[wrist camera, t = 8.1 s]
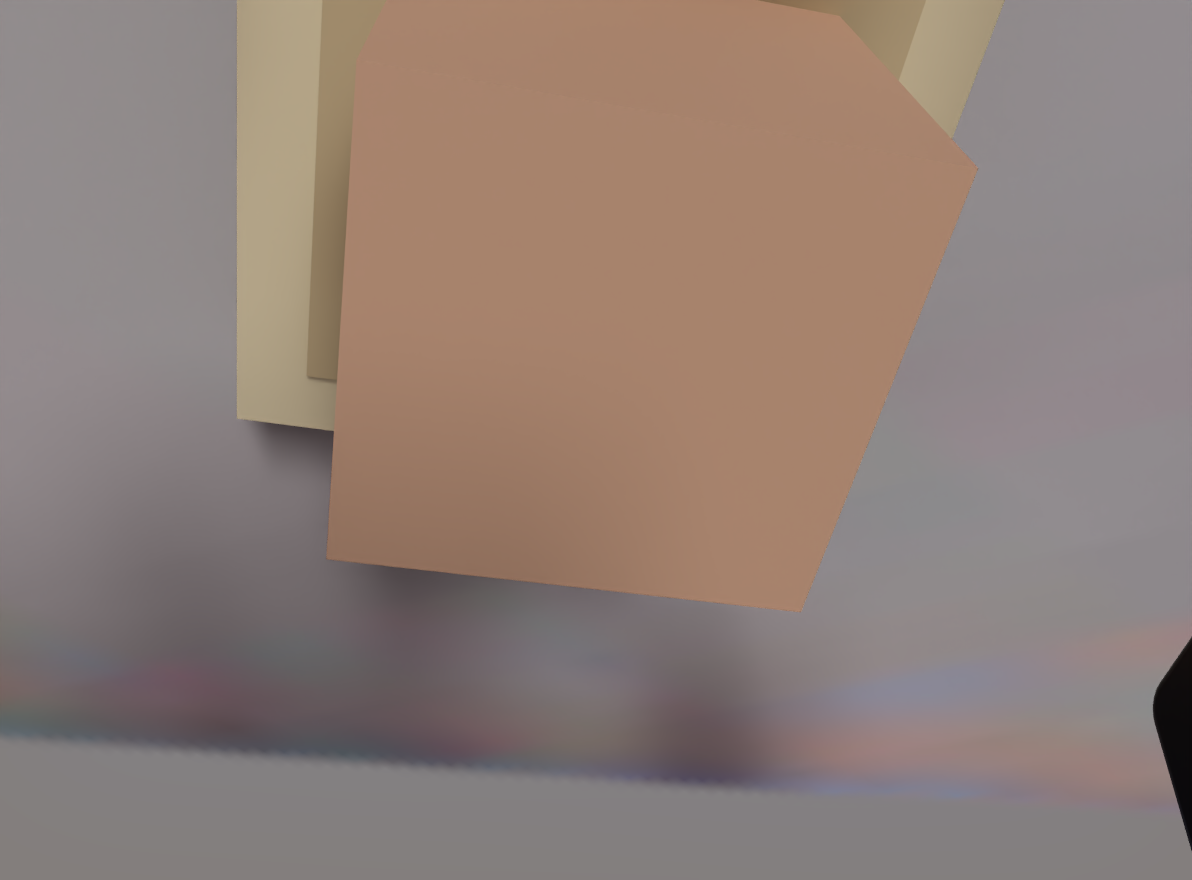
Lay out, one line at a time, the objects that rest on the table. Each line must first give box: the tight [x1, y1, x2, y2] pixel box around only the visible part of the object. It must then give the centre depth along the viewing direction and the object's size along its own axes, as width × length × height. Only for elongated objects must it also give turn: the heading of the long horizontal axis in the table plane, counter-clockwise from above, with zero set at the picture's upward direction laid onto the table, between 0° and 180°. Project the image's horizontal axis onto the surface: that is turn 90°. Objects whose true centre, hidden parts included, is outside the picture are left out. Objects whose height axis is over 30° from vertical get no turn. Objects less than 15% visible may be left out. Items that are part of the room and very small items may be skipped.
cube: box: [326, 0, 978, 612], centre depth 12 cm, size 5×5×5 cm
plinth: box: [237, 0, 1005, 431], centre depth 15 cm, size 9×9×2 cm
